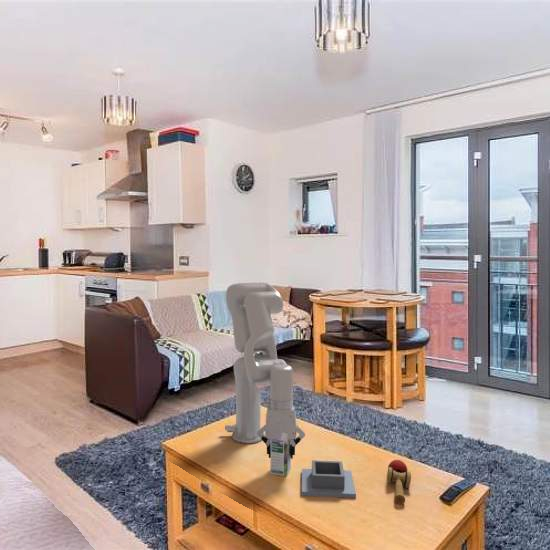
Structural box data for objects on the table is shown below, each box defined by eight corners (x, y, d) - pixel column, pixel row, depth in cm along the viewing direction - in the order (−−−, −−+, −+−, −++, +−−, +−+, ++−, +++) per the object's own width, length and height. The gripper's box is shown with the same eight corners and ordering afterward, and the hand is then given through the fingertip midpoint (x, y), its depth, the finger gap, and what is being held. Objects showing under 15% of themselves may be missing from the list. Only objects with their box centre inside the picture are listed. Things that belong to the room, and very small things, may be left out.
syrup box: (269, 474, 146) (270, 430, 145) (275, 466, 152) (275, 424, 151) (286, 477, 144) (287, 433, 144) (291, 468, 150) (291, 426, 149)
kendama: (416, 510, 129) (411, 471, 146) (413, 490, 128) (408, 454, 145) (388, 511, 131) (387, 473, 148) (385, 491, 130) (384, 455, 147)
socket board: (301, 495, 134) (301, 478, 133) (301, 472, 148) (302, 456, 147) (355, 497, 133) (356, 480, 132) (351, 474, 147) (351, 458, 146)
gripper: (253, 406, 144) (253, 461, 145) (307, 408, 142) (307, 463, 143) (256, 398, 151) (255, 450, 152) (307, 400, 150) (307, 452, 151)
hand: (280, 456), depth 148 cm, fingers closed on syrup box, 6 cm apart
